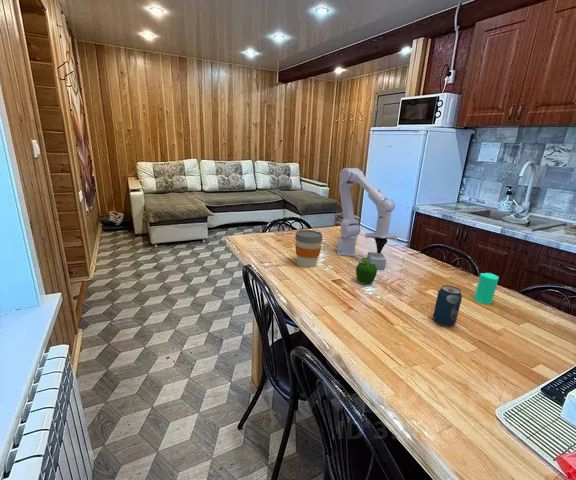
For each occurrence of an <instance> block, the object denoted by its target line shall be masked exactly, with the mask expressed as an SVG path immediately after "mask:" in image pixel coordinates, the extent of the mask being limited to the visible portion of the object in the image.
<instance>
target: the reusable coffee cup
mask: <svg viewBox="0 0 576 480" xmlns="http://www.w3.org/2000/svg"><path fill="white" fill-rule="evenodd" d="M294 239H295V244H294V245H295V254H296V261H297V263H296V264H297V266H300V267H302V268H306V269H307V268H309V269H310V268H314V267H316V266H317V264H318V263H317V262H318V259H319V256H320V255H321V250H322V242H323V233H322V232H320V231H317V230H311V229H301V230H298V231H296V232H295V238H294Z"/></svg>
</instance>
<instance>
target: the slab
mask: <svg viewBox="0 0 576 480" xmlns="http://www.w3.org/2000/svg"><path fill="white" fill-rule="evenodd" d="M366 258H367V261H368V262H369V263H371V264H375V265H376V267H378V268H384V269H386V267H387V266H386V265H387V258H386V257H385V255H384V254H383V253H382V252H381V254H378V253H377V252H373V251H368V252H367V256H366Z"/></svg>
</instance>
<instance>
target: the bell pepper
mask: <svg viewBox="0 0 576 480" xmlns="http://www.w3.org/2000/svg"><path fill="white" fill-rule="evenodd" d="M360 260H361V261H360V262H358V263H357V265H356V267H355V276H356V280H357V282H358V283H363V284H364V285H372V283H373V282H374V281H375V279H376V276H377V273H378V270H377V268H376V265H375V264H371V263H369V262H368V261H367V260H366V259H360ZM364 261H365V263H364Z"/></svg>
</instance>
